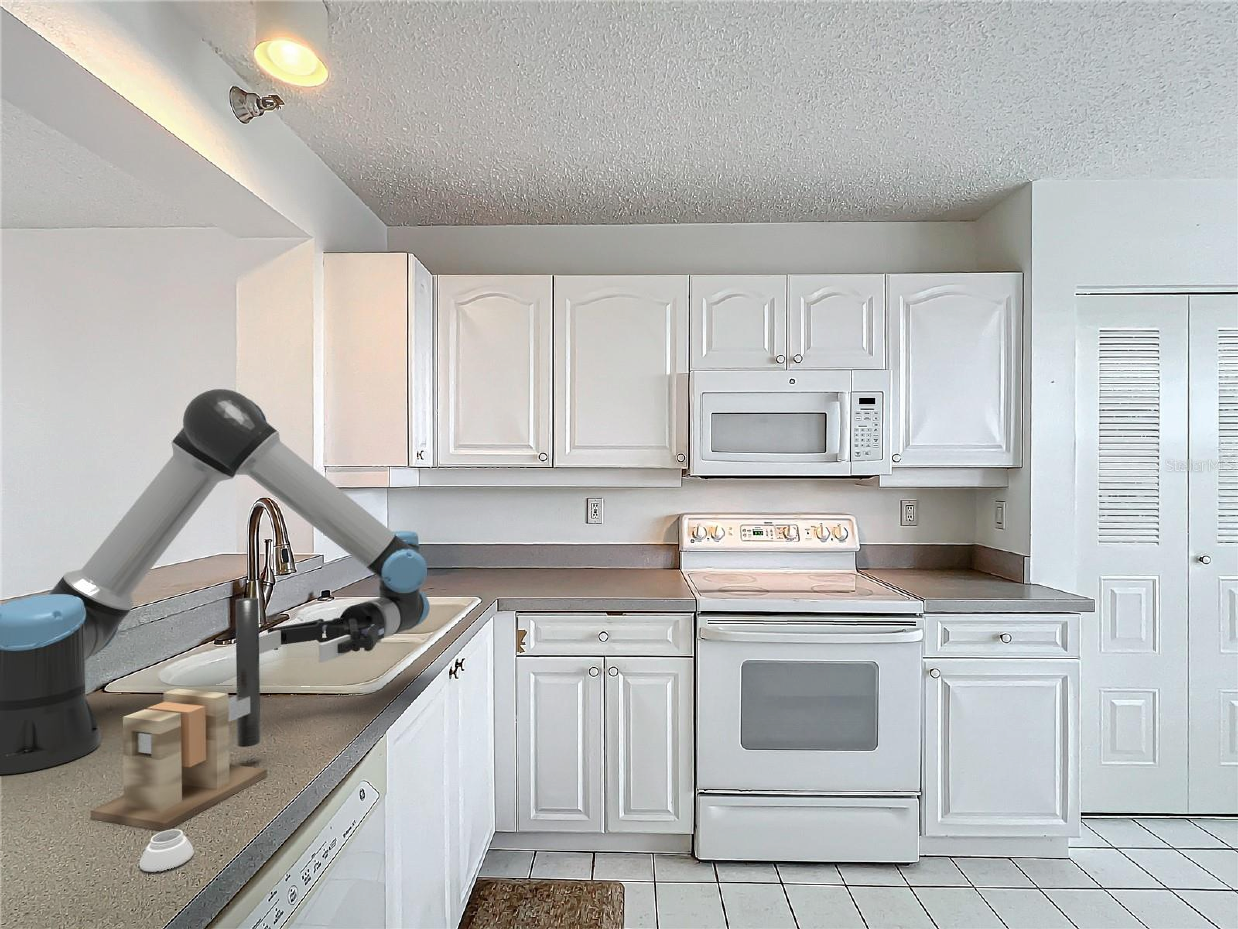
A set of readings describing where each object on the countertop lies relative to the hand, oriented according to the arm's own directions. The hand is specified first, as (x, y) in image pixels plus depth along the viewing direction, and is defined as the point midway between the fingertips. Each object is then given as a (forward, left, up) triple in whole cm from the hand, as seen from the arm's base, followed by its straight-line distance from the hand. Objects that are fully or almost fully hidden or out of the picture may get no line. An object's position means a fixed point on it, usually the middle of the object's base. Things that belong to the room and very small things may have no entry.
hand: (283, 650), depth 113 cm
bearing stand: (-1, -17, -15) cm, 22 cm away
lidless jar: (+12, -31, -15) cm, 36 cm away
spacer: (-1, -19, -10) cm, 21 cm away
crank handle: (-1, -14, -12) cm, 18 cm away
